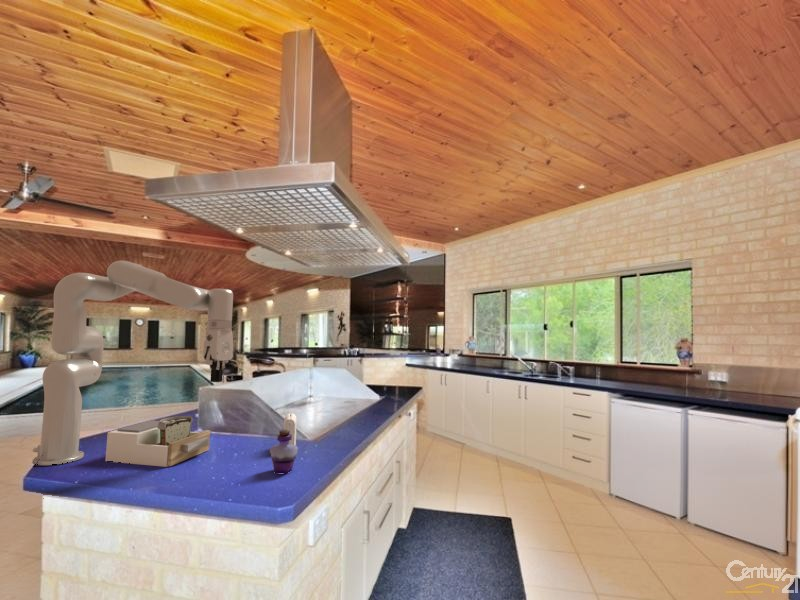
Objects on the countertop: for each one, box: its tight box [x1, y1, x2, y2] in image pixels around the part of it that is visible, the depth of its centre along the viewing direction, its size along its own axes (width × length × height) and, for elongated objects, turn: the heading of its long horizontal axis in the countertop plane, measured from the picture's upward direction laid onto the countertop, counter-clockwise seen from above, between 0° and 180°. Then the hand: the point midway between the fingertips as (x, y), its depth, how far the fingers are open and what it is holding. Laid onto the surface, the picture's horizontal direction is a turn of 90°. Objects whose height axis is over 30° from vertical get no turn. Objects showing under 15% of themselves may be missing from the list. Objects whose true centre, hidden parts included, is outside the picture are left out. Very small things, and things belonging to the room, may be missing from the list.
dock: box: [105, 420, 201, 468], centre depth 137 cm, size 22×18×10 cm
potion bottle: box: [269, 429, 299, 473], centre depth 124 cm, size 9×9×12 cm
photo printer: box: [283, 413, 298, 446], centre depth 148 cm, size 10×4×12 cm, turn 11°
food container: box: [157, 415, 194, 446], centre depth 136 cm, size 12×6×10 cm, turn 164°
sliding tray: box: [155, 429, 211, 467], centre depth 136 cm, size 14×18×7 cm
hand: (216, 381), depth 135 cm, fingers closed
